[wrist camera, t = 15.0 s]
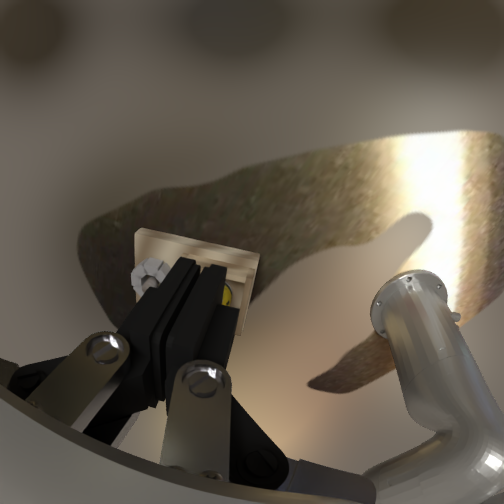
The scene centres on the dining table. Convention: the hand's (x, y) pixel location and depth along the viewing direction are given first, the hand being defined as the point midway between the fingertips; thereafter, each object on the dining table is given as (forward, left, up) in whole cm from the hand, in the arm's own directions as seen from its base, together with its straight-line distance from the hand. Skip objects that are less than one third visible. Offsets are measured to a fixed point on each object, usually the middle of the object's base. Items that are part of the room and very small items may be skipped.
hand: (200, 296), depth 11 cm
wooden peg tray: (+7, +18, -27) cm, 33 cm away
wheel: (+12, +18, -25) cm, 33 cm away
